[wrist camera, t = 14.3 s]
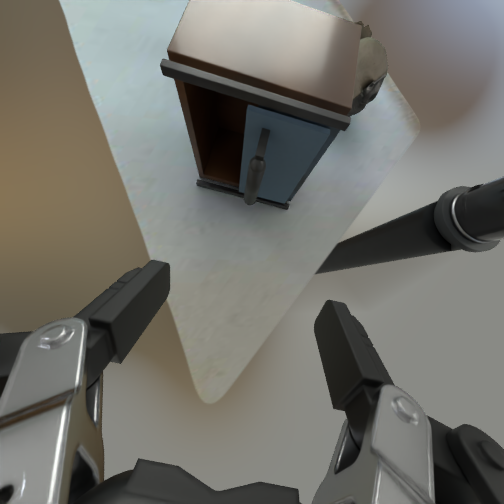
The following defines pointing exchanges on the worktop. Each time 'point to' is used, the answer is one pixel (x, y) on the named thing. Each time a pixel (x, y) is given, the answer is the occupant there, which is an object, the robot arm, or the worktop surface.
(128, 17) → the worktop surface
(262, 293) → the worktop surface
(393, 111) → the worktop surface
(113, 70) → the worktop surface
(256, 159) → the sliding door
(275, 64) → the cupboard
